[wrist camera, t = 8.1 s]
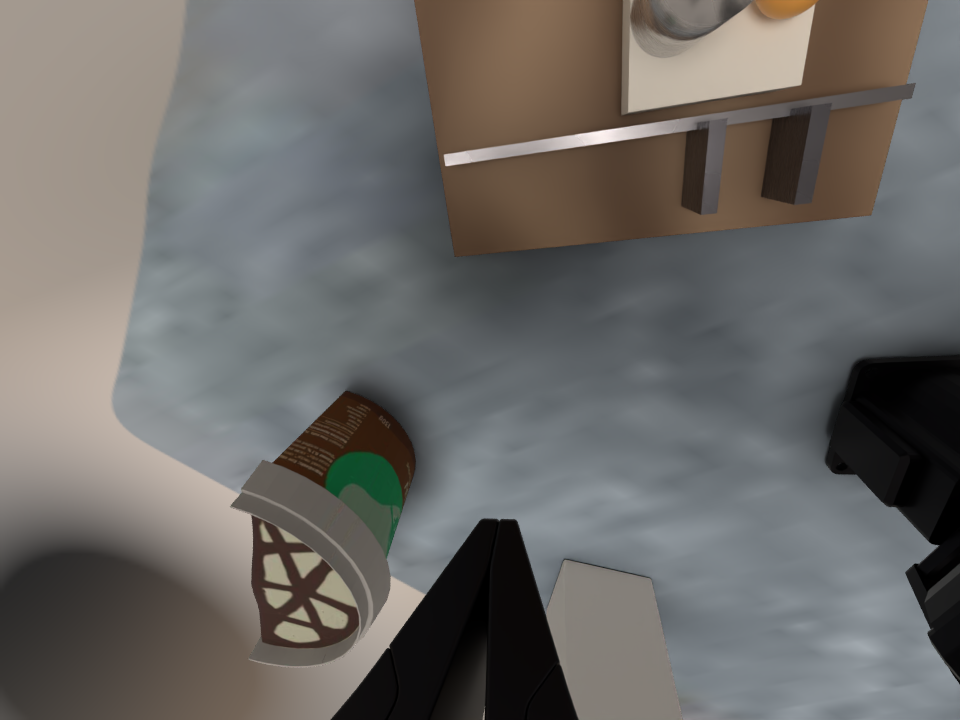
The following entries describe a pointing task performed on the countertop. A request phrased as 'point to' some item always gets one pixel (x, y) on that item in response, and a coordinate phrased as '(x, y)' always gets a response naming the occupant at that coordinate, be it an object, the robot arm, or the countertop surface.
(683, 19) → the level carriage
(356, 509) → the food container
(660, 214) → the stand
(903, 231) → the countertop surface
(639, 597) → the milk
